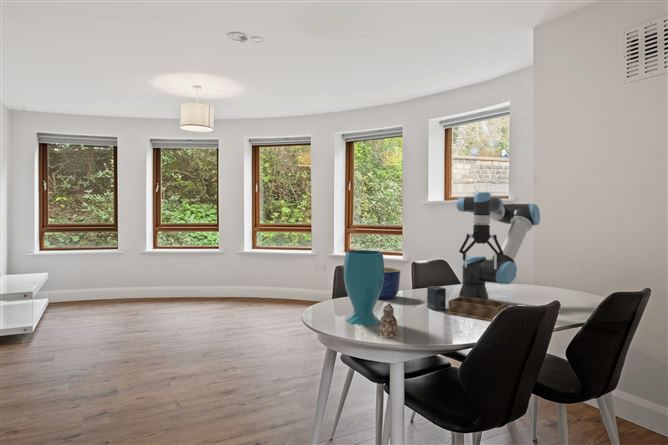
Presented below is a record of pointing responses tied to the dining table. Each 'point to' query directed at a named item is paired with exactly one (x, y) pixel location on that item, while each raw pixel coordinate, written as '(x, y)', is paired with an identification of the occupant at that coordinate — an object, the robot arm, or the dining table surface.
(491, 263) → the robot arm
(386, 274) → the planter
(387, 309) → the figurine
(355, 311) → the vase
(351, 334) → the dining table surface
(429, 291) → the box
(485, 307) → the tray
